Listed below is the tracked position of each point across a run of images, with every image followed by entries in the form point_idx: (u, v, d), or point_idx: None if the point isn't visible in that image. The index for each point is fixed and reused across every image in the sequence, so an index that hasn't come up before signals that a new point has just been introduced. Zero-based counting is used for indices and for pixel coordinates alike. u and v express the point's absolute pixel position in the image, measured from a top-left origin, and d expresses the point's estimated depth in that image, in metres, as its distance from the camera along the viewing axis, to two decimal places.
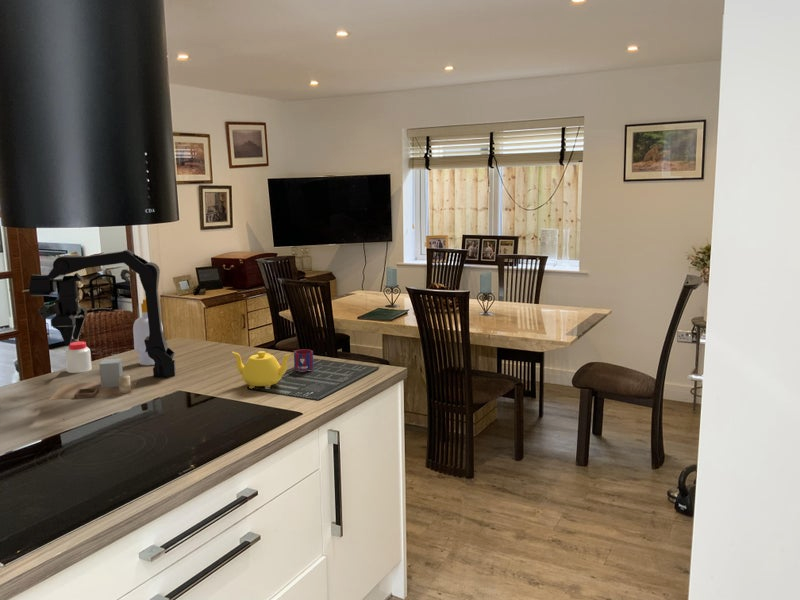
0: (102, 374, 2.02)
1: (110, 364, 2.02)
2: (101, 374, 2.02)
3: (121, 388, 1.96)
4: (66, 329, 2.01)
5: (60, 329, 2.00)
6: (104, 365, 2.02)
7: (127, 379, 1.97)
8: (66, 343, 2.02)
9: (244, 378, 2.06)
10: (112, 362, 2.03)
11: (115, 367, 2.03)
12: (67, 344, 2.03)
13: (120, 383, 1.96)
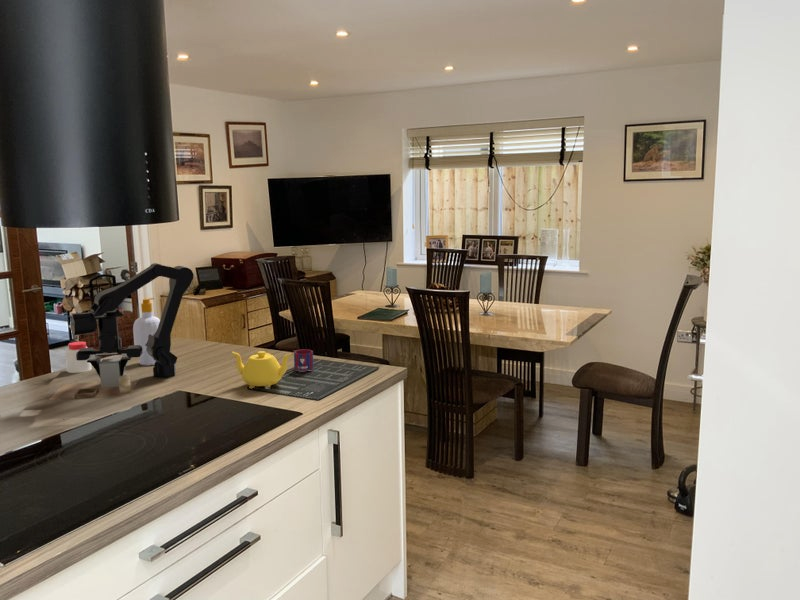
0: (102, 374, 2.02)
1: (110, 364, 2.02)
2: (101, 374, 2.02)
3: (121, 388, 1.96)
4: None
5: None
6: (104, 365, 2.02)
7: (127, 379, 1.97)
8: None
9: (244, 378, 2.06)
10: (112, 362, 2.03)
11: (115, 367, 2.03)
12: None
13: (120, 383, 1.96)
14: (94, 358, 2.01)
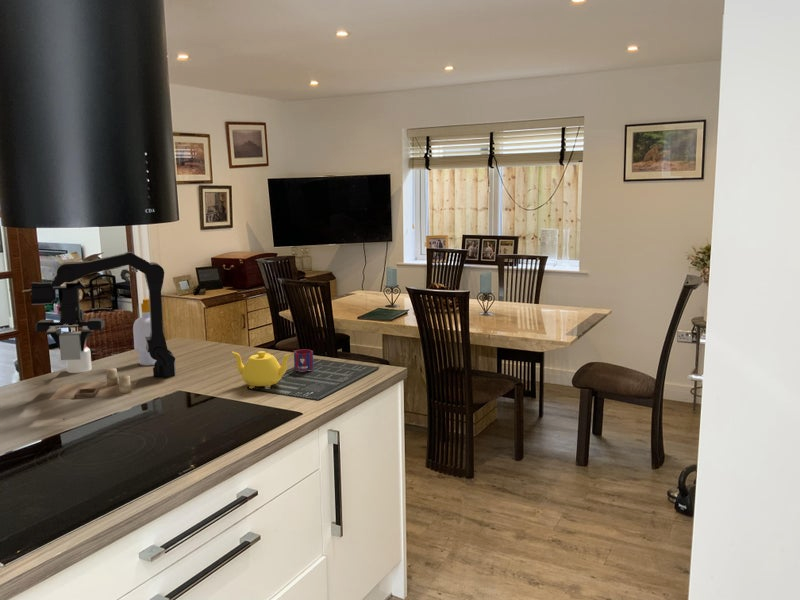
0: (62, 346, 1.99)
1: (70, 336, 1.99)
2: (61, 346, 1.98)
3: (121, 388, 1.96)
4: None
5: None
6: (64, 337, 1.98)
7: (127, 379, 1.97)
8: None
9: (244, 378, 2.06)
10: (73, 334, 2.00)
11: (75, 339, 1.99)
12: None
13: (120, 383, 1.96)
14: (54, 330, 1.98)
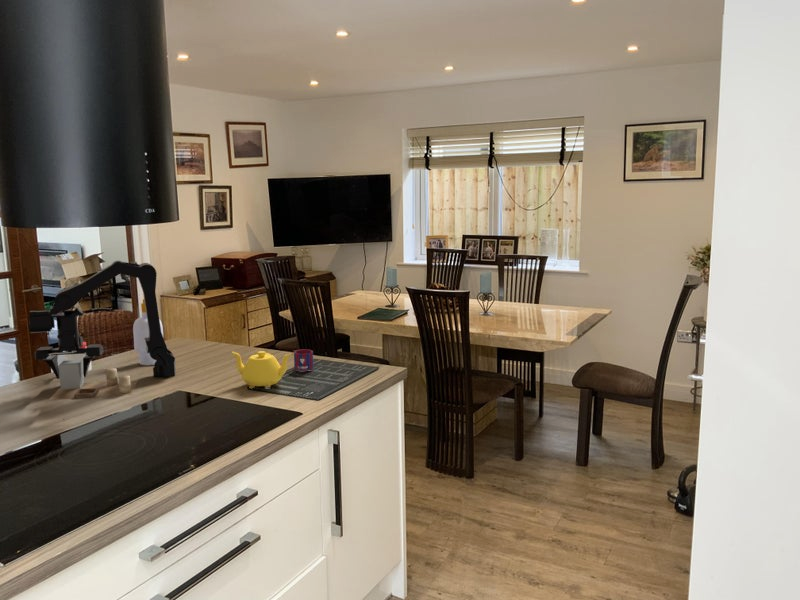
0: (62, 376, 2.00)
1: (70, 366, 2.00)
2: (60, 376, 2.00)
3: (121, 388, 1.96)
4: None
5: None
6: (64, 366, 2.00)
7: (127, 379, 1.97)
8: None
9: (244, 378, 2.06)
10: (72, 363, 2.01)
11: (75, 369, 2.01)
12: None
13: (120, 383, 1.96)
14: (50, 357, 1.99)
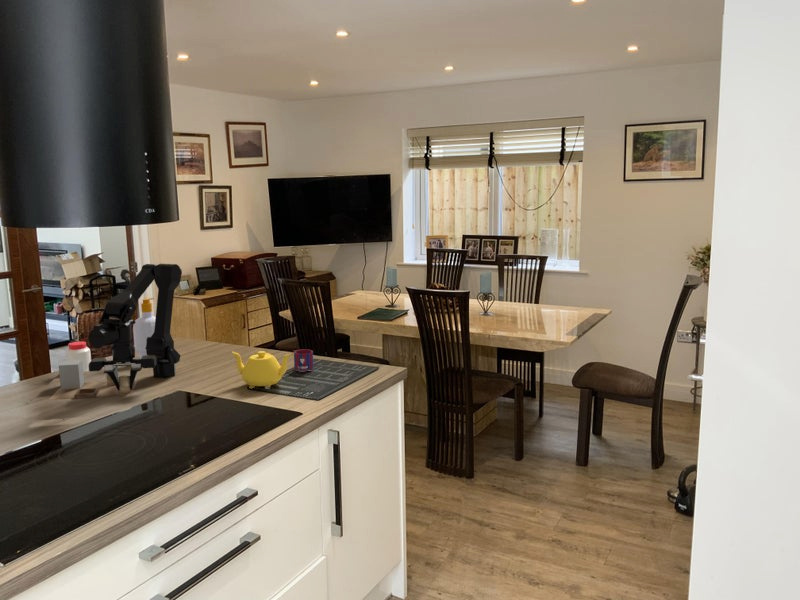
0: (62, 376, 2.00)
1: (70, 366, 2.00)
2: (60, 376, 2.00)
3: (121, 388, 1.96)
4: None
5: None
6: (64, 366, 2.00)
7: (127, 379, 1.97)
8: None
9: (244, 378, 2.06)
10: (72, 363, 2.01)
11: (75, 369, 2.01)
12: None
13: (120, 383, 1.96)
14: (111, 369, 1.94)
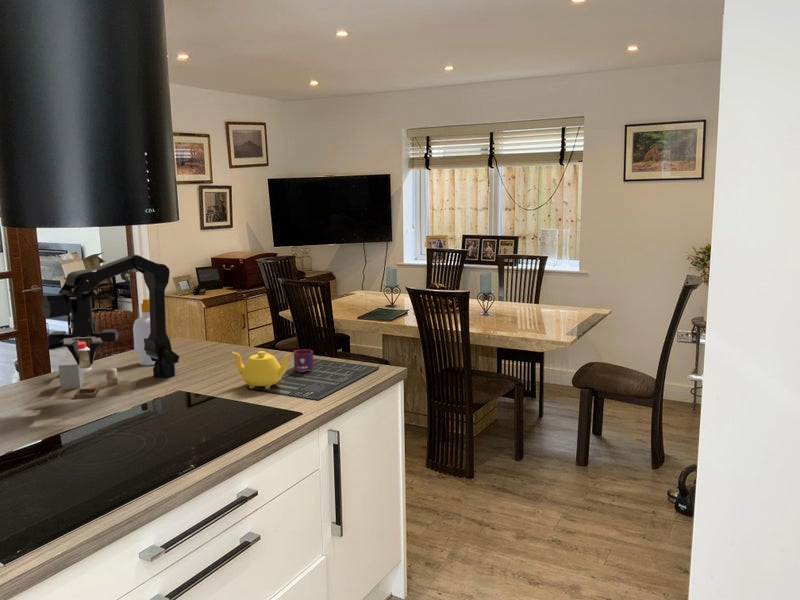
0: (62, 376, 2.00)
1: (70, 366, 2.00)
2: (60, 376, 2.00)
3: (81, 362, 1.92)
4: None
5: None
6: (64, 366, 2.00)
7: (87, 353, 1.92)
8: None
9: (244, 378, 2.06)
10: (72, 363, 2.01)
11: (75, 369, 2.01)
12: None
13: (80, 357, 1.92)
14: (71, 342, 1.90)
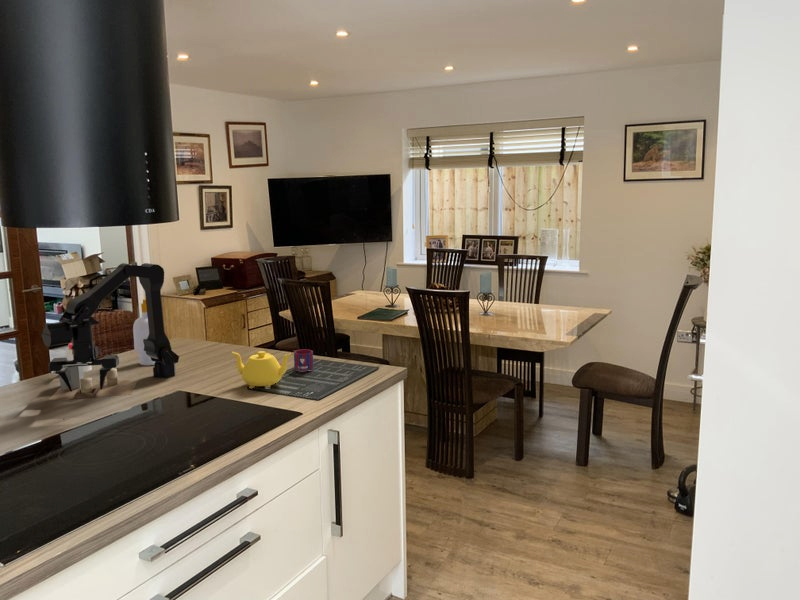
0: None
1: None
2: (60, 376, 2.00)
3: (82, 390, 1.94)
4: None
5: None
6: None
7: (88, 381, 1.94)
8: None
9: (244, 378, 2.06)
10: None
11: (75, 369, 2.01)
12: None
13: (81, 385, 1.94)
14: (63, 369, 1.91)
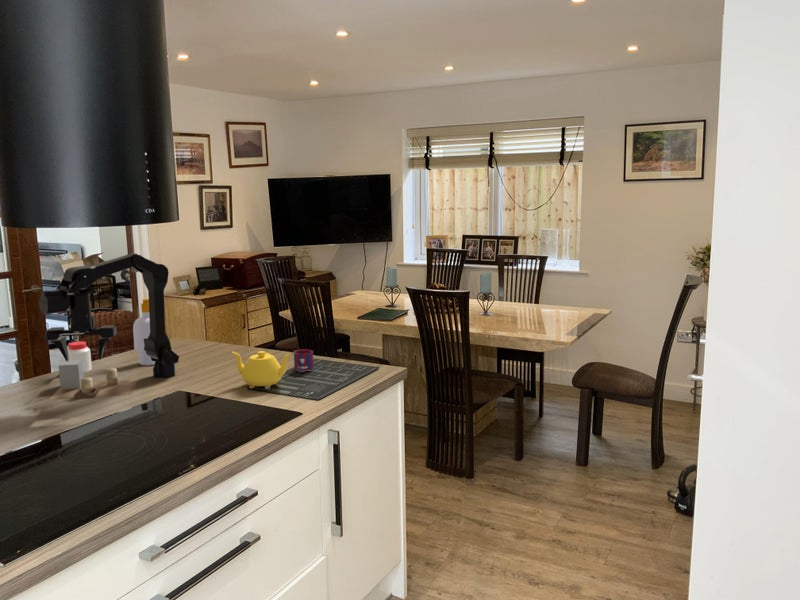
0: (62, 376, 2.00)
1: (70, 366, 2.00)
2: (60, 376, 2.00)
3: (82, 390, 1.94)
4: None
5: None
6: (64, 366, 2.00)
7: (89, 381, 1.94)
8: None
9: (244, 378, 2.06)
10: (72, 363, 2.01)
11: (75, 369, 2.01)
12: None
13: (81, 385, 1.94)
14: (58, 338, 1.89)
